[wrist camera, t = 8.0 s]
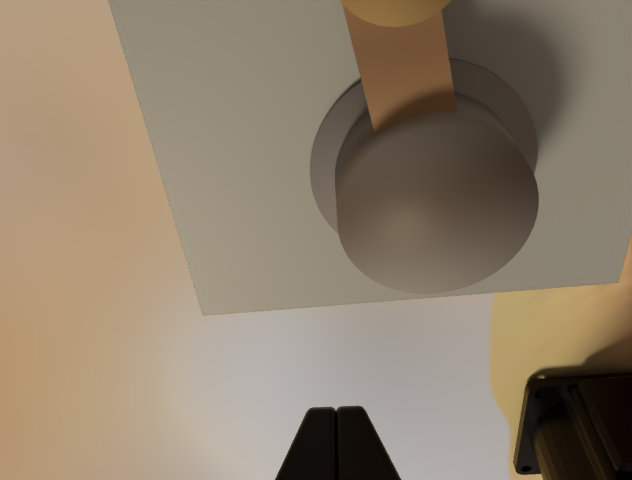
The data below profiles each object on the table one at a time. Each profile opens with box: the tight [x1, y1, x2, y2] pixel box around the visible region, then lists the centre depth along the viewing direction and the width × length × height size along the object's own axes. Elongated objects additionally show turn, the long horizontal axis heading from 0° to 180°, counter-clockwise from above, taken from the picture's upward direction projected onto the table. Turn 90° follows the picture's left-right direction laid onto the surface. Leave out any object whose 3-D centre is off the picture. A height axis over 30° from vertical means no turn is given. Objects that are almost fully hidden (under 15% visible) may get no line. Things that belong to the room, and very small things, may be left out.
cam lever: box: [335, 0, 539, 294], centre depth 12 cm, size 10×5×6 cm, turn 16°
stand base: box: [108, 0, 632, 316], centre depth 15 cm, size 16×14×3 cm
